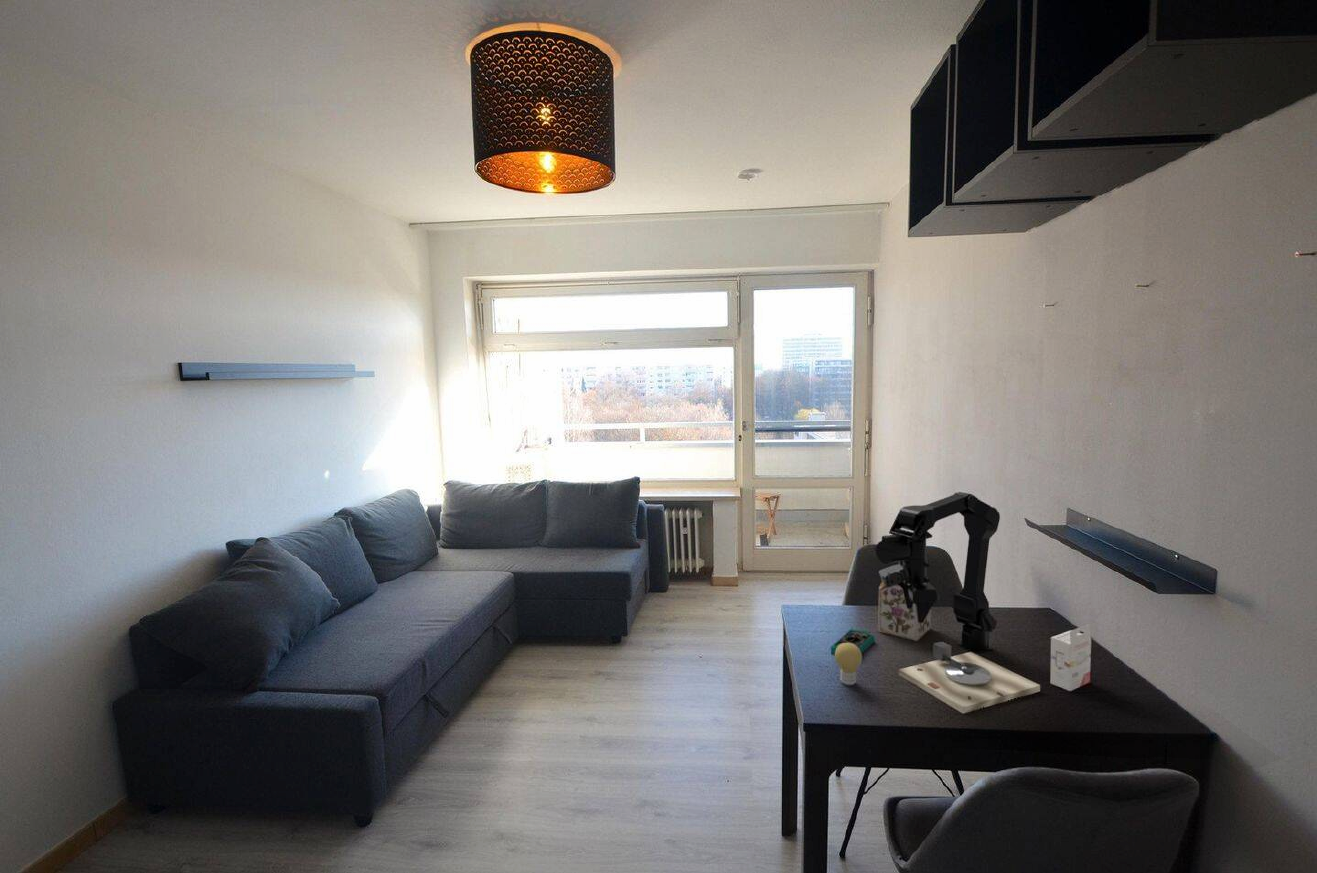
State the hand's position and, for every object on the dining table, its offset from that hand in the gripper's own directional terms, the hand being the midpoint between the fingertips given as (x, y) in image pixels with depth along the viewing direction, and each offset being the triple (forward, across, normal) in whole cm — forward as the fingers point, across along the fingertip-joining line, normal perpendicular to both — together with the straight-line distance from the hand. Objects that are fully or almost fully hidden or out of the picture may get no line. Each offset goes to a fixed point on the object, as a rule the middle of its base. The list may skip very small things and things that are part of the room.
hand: (914, 615), depth 163 cm
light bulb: (+13, +10, -19) cm, 25 cm away
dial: (+12, +7, +9) cm, 16 cm away
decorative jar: (+14, -23, +4) cm, 27 cm away
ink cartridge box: (+14, +8, +34) cm, 38 cm away
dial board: (+14, +9, +10) cm, 19 cm away
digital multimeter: (+14, -11, -14) cm, 22 cm away
